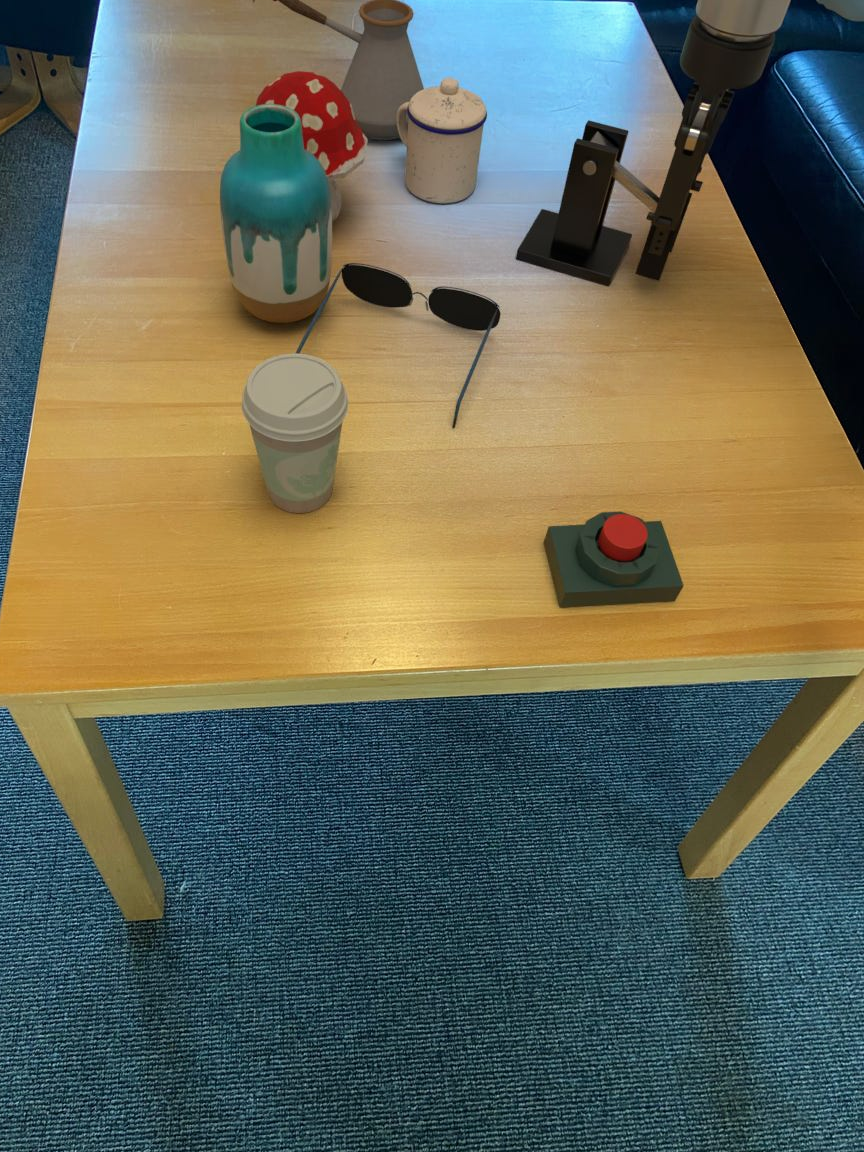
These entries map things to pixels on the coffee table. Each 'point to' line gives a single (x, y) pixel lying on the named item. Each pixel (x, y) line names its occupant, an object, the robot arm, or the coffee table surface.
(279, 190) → the vase
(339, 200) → the decorative mushroom
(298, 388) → the coffee cup
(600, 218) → the black lever stand
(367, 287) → the sunglasses
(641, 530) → the button
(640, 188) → the lever
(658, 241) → the robot arm
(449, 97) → the teacup with lid
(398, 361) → the coffee table surface
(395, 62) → the coffee pot
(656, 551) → the button housing
